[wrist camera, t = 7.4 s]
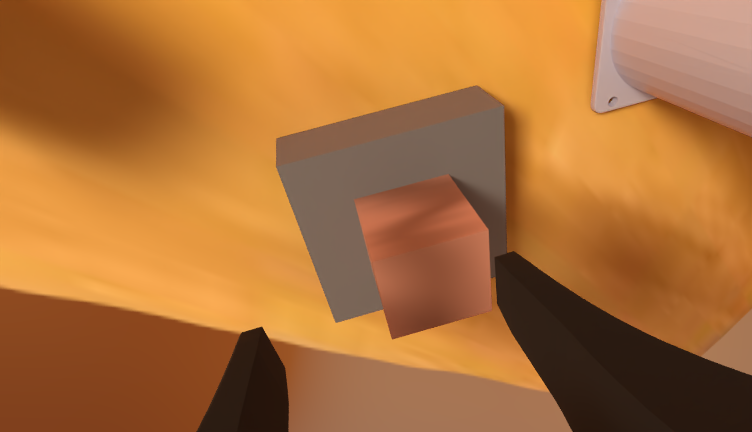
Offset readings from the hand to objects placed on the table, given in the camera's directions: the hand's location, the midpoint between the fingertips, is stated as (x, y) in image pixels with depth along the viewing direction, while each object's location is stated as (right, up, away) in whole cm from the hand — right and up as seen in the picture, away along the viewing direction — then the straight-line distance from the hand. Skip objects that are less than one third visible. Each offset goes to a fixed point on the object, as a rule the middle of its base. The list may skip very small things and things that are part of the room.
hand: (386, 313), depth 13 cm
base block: (+1, +4, +10) cm, 11 cm away
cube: (+1, +3, +8) cm, 8 cm away
